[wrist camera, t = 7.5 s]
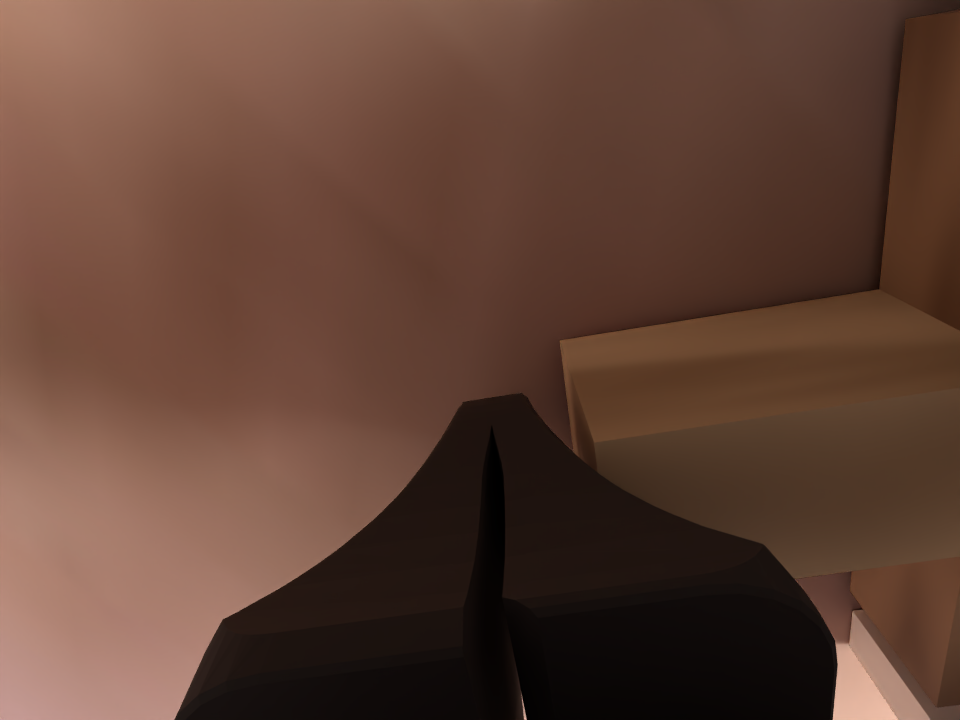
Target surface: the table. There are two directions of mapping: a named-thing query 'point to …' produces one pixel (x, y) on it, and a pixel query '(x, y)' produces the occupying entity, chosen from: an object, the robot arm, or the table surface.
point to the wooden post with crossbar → (821, 401)
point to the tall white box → (893, 674)
